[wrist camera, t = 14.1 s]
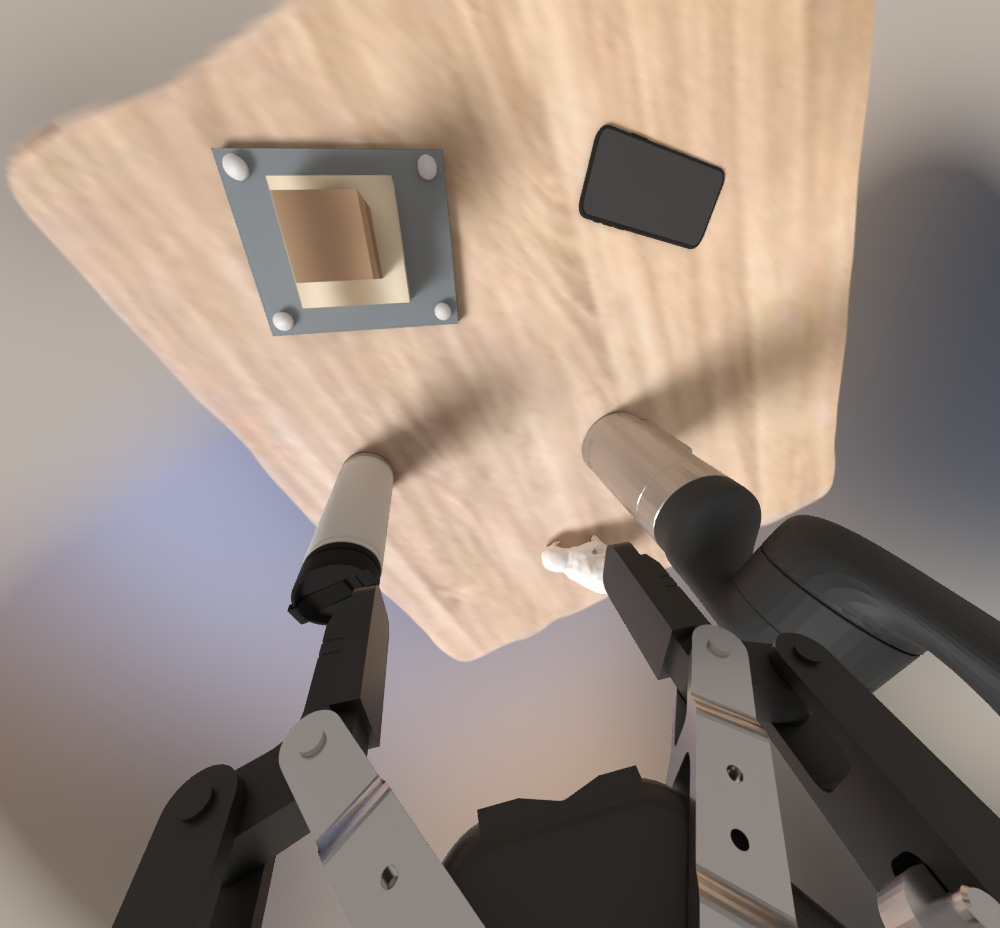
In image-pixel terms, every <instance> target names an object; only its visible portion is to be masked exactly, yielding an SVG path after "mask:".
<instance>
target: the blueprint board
mask: <svg viewBox="0 0 1000 928" xmlns="http://www.w3.org/2000/svg"><path fill="white" fill-rule="evenodd" d="M211 149H212V152H213V155H214V158H215V161H216V164H217V167H218V170H219V173H220V176H221V179H222V183H223V186H224V189H225V192H226V195H227V198H228V201H229V204H230V207H231V210H232V213H233V216H234V219H235V222H236V225H237V228H238V231H239V234H240V237H241V240H242V243H243V247H244V250H245V253H246V256H247V259H248V262H249V265H250V268H251V271H252V274H253V277H254V280H255V283H256V286H257V289H258V292H259V295H260V298H261V301H262V304H263V307H264V311H265V314H266V317H267V320H268V323H269V326H270V329H271V332H272V335H273V336H283V335H298V334H312V333H327V332H342V331H356V330H371V329H386V328H401V327H415V326H430V325H445V324H458V314H457V303H456V292H455V281H454V270H453V259H452V248H451V237H450V226H449V215H448V204H447V193H446V182H445V171H444V160H443V150H412V149H276V148H211ZM309 175H391V177H392V181H393V184H394V189H395V196H396V202H397V209H398V216H399V223H400V230H401V237H402V243H403V250H404V257H405V264H406V271H407V278H408V285H409V291H410V298H411V300H410V302H407V303H390V304H372V305H355V306H337V307H320V308H302V304H301V300H300V297H299V293H298V290H297V286H296V283H295V279H294V276H293V272H292V268H291V265H290V261H289V258H288V254H287V251H286V247H285V243H284V240H283V236H282V233H281V229H280V226H279V222H278V218H277V215H276V211H275V208H274V204H273V201H272V197H271V193H270V190H269V186H268V183H267V179H266V176H309Z"/></svg>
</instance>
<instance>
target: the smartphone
mask: <svg viewBox="0 0 1000 928" xmlns="http://www.w3.org/2000/svg"><path fill="white" fill-rule="evenodd" d="M723 182H724V172H723V170H722V169H720V168H718V167H716V166H713V165H710V164H708V163H705V162H703V161H700V160H698V159H695V158H693V157H690V156H687V155H685V154H682V153H680V152H677V151H675V150H672V149H670V148H667V147H664V146H662V145H659V144H657V143H654V142H652V141H649V140H647V139H646V138H644V137H641V136H639V135H636V134H634V133H628V132H626V131H623V130H621V129H618V128H616V127H613V126H610V125H605V126H603V127H601V128H600V130H599V131H598V132H597V134H596V137H595V140H594V144H593V148H592V152H591V156H590V160H589V165H588V169H587V173H586V177H585V181H584V185H583V189H582V193H581V197H580V201H579V212H580V214H581V216H582V217H584V218H586V219H589V220H593V222H597V223H602V224H604V225H607V226H610V227H614V228H617V229H620V230H626V231H630V232H633V233H637V234H640V235H643V236H647V237H650V238H654V239H657V240H661V241H664V242H667V243H671V244H674V245H678V246H681V247H684V248H688V249H693V248H695V247H697V246H698V245H699V243H700V242H701V240H702V238H703V236H704V233H705V230H706V228H707V225H708V222H709V220H710V217H711V215H712V212H713V209H714V207H715V204H716V201H717V199H718V196H719V193H720V191H721V188H722V186H723Z"/></svg>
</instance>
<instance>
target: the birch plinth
mask: <svg viewBox="0 0 1000 928" xmlns="http://www.w3.org/2000/svg"><path fill="white" fill-rule="evenodd" d="M266 179H267V183H268V186H269V190H307V189H357V190H358V192H359V193H360V195H361V196H362V197H363V199H364V200H365V202H366V203H367V204H368V206H369V207H370V211H371V216H372V222H373V227H374V233H375V239H376V244H377V250H378V255H379V261H380V266H381V272H382V278H383V279H367V280H348V281H329V282H309V283H296V281H295V283H296V286H297V290H298V293H299V297H300V300H301V304H302V308H320V307H337V306H355V305H372V304H390V303H407V302H410V300H411V298H410V291H409V285H408V278H407V271H406V264H405V257H404V250H403V243H402V237H401V230H400V223H399V216H398V209H397V202H396V196H395V189H394V184H393V181H392V177H391V175H309V176H266ZM270 193H271V192H270ZM271 197H272V196H271ZM272 201H273V199H272ZM273 204H274V203H273ZM274 208H275V207H274ZM275 211H276V210H275ZM276 215H277V214H276ZM277 218H278V217H277ZM278 222H279V221H278ZM279 226H280V224H279ZM280 229H281V228H280ZM281 233H282V231H281ZM282 236H283V235H282ZM283 240H284V238H283ZM284 243H285V242H284ZM285 247H286V245H285ZM286 251H287V249H286ZM287 254H288V252H287ZM288 258H289V256H288ZM289 261H290V259H289ZM290 265H291V263H290ZM291 268H292V267H291ZM292 272H293V270H292ZM293 276H294V274H293ZM294 279H295V277H294Z"/></svg>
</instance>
